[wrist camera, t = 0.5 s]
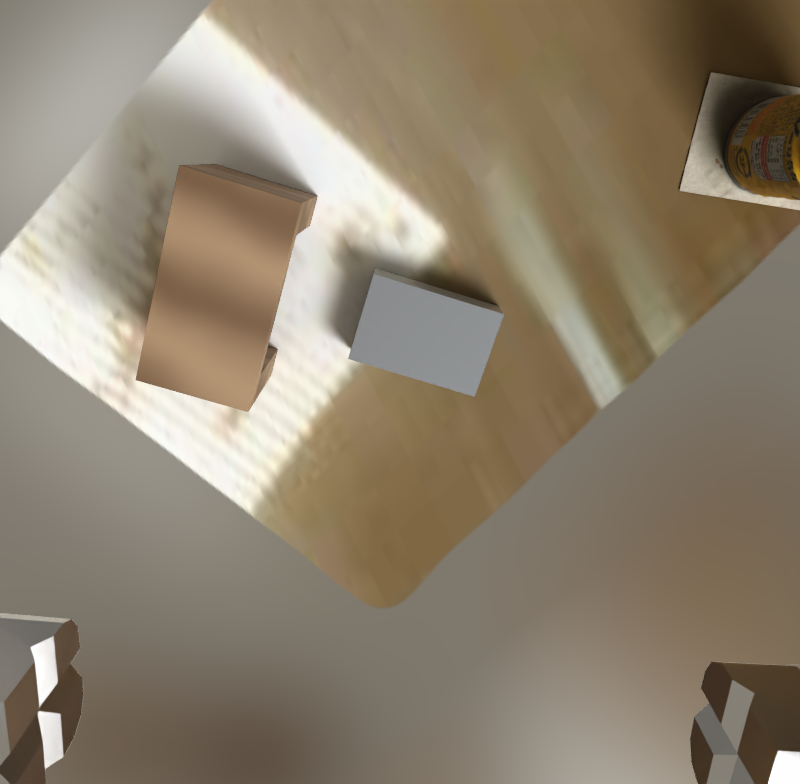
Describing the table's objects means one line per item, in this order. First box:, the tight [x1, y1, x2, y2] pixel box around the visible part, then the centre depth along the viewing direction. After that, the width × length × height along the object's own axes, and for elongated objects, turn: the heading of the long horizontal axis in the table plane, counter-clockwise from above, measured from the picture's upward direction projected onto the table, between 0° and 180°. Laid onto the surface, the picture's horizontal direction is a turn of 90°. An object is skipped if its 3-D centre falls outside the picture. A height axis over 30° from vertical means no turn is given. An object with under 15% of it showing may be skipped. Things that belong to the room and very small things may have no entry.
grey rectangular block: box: [348, 268, 504, 396], centre depth 51 cm, size 6×9×3 cm, turn 73°
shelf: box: [136, 164, 317, 412], centre depth 47 cm, size 13×7×8 cm, turn 163°
